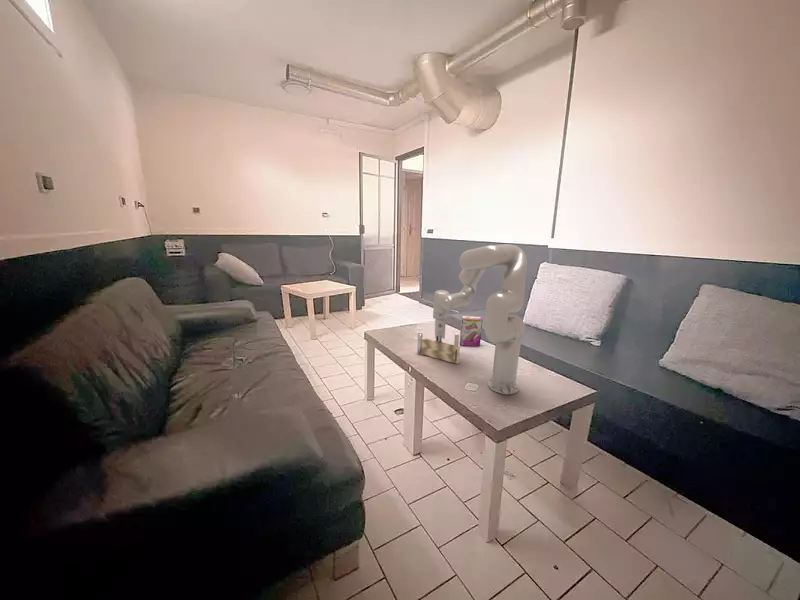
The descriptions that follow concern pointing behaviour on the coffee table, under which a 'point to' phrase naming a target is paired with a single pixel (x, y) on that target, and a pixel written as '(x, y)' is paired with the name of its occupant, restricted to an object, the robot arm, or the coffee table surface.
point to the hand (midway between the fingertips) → (437, 348)
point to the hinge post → (419, 344)
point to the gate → (440, 350)
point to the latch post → (456, 339)
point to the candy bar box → (470, 331)
